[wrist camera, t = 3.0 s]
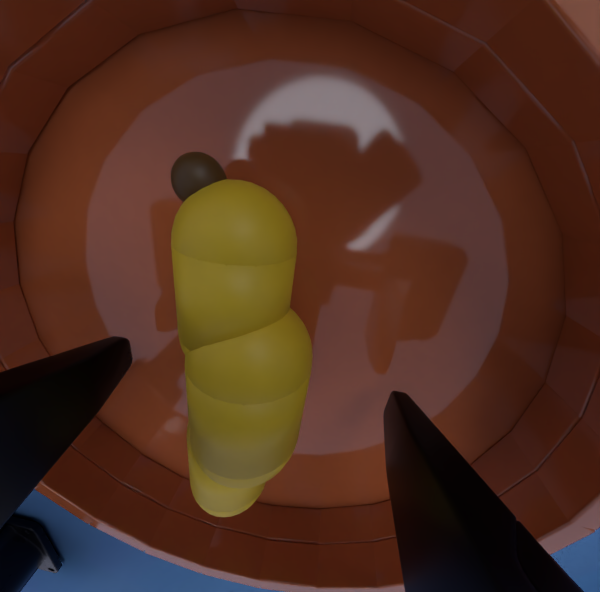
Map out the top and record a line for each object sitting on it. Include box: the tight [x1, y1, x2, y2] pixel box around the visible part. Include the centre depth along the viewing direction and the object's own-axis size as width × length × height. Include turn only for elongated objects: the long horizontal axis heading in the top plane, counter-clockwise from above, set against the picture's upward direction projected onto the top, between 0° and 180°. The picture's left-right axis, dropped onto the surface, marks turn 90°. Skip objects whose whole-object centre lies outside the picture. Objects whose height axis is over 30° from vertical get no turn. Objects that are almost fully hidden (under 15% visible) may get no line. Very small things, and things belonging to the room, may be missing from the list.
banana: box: [171, 152, 313, 517], centre depth 7 cm, size 12×4×3 cm, turn 173°
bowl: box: [0, 0, 600, 592], centre depth 8 cm, size 18×18×3 cm
